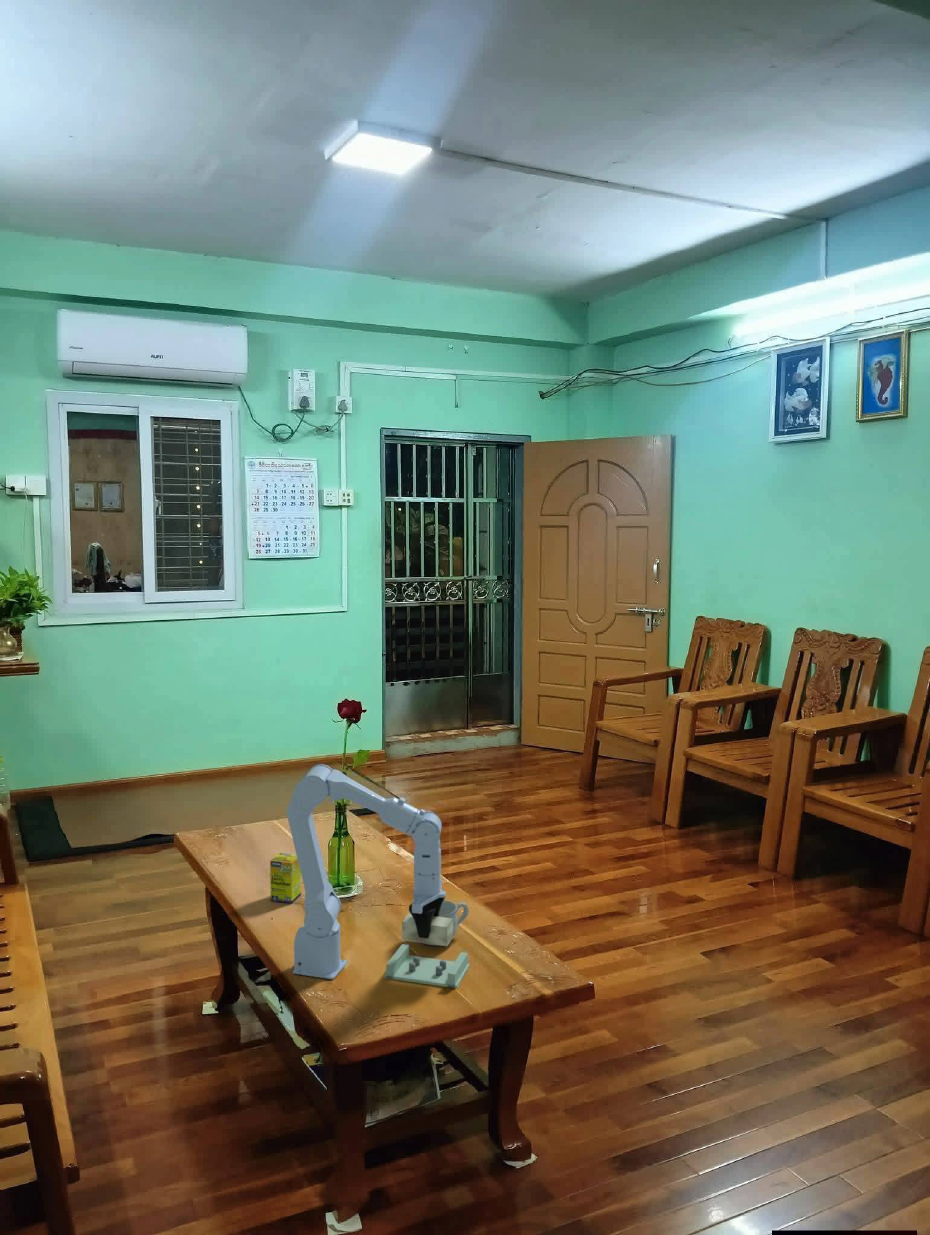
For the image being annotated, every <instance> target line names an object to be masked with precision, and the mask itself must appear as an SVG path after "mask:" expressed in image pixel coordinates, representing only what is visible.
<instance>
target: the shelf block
mask: <svg viewBox="0 0 930 1235" xmlns="http://www.w3.org/2000/svg"><path fill="white" fill-rule="evenodd" d="M401 932H402V933H401V936H402V937H401V938H402V941H406V942H411V943H412V942H413V943H420V944H424V943H426V944H434V945H433V946H443V947H448V946H449V944H450V943H451V941H452V939H453V938H454V937H453V918H445V917H437V916H433V918H432V922H431V930H430V935H429V938H428V939H427V938H419V936H418V932H417V928H416V924H415V921H414V919H413V917H412V915H411V913H410V912H409V913H408V914H406V916H405V917H404V919H402V921H401ZM426 944H425V945H426Z"/></svg>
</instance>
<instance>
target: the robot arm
mask: <svg viewBox="0 0 930 1235" xmlns="http://www.w3.org/2000/svg"><path fill="white" fill-rule="evenodd" d="M301 778H302V779H301V780H300V781H299V782H298V783H297V784H296V786H295V787H294V788H293V791H292V792H293V793H292V796H291V797H290V800H289V803H288V806H287V809H286V818H287V820H288V822H287V823H288V825H289V830H290V833H291V838H292V843H293V845H294V850H295V855H297V859H298V863H299V867H300V871H301V881H302V884H303V886H304V887H303V888H304V911H305V915H304V919H303V925H302V926H300V927H298V929H297V931H296V932H295V935H294V942H293V957H294V958H293V959H294V961H293V962H294V963H293V964H294V969H293V970H292V974H295V975H300V974H301V975H302V976H308V977H315V978H322V979H328V980H334V979H335V978H336V977H337V975H339V974H340V972H341V971H342V970H343V969H344V968H345V967H346V965H347V964H348V960H346V959H341V925H340V923H339V921H338V915H339V914H340V912H341V910H342V902H341V900H340V898H339V896H338V895H337V894H336V892H335V890H334V888H333V885H332V884H331V883H330V882H329V879H328V875H327V872H326V868H325V862H324V859H323V855H322V851H321V850H322V849H321V846H320V843H319V838H318V833H317V830H316V826H315V825H316V824H315V822H314V821H315V820H314V817H313V811H314V810H315V809H316V807H317V806H319V805H320V804H321V803H323V802H324V801H325V800H326V799H327V797H329V798H328V802H334V801H335V802H336V801H339V800H342V799H345V800H348V801H350V802H352V803H354V804H357V805H358V806H361V807H363V808H366V809H368V810H370V811H372V812H374V813H377V814H378V815H379V818H380V820H381V823H384V824H386V825H387V826H390V827H392V828H393V829H395V830H397V831H399V832H401V833H403V834H406V835H407V836H410V837H411V838H412V840H413V842H414V849H413V891H412V895H413V896H412V897H413V898H412V899H413V900H412V903H411V904H409V906H408V912H409V913H411V915H412V917H413V919H414V921H415V924H416V928H417V932H418V936H419V938H427V939H428V938H429V935H430V930H431V922H432V918H433V916H437V917H439V912H440V908H441V905H442V903H443V901H444V900H446V896H447V891H445V890H443V889H442V888H443V878H442V876H441V875H442V849H441V839H440V838H441V833H442V832H441V831H442V824H443V823H442V820H441V818H440V817H439V816H438V815H437V814H436V813H434V811H432V810H425V809H423V808H421V809H418V808H416V807H414V806H413V805H411V804H409V803H407V802H406V798H403V797H402V796H400V797H399V798H397V797H395V796H394V797H391V798H385V797H384V796H382V795H380V794H378V793H376V792H375V791H373V790H371V789H369V788H368V787H366V786H364V785H362V784H360V783H359V782H357V781H355V780H353V779H352V778H350V777H348V775H346V774H344V773H343V772H342V771H340V770H338V769H335V768H331V767H330V766H329V765H326V764H323V763H322V764H321V763H320V764H316V765H313V766H312V767H311V768H309V769H308V771H307V772H306V774H305V775H304V776H303V777H301ZM301 975H300V976H301Z"/></svg>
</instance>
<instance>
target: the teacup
mask: <svg viewBox="0 0 930 1235" xmlns="http://www.w3.org/2000/svg"><path fill="white" fill-rule="evenodd" d="M460 908H463V913H462V914H461V915H460V916H459V917H458V911H459V909H460ZM469 910H470V909H469V907H468V905H467V903H465V902H462V901H460V902H457V903H454V902H453V901H450V900H447V899H444V901H443V903H442V905H441V908H440V912H439V917H445V918H453V938H454V937H455V936H456V934H457V931H458V927H459V925H460V924H461V923H462V922H464V921H465V919H466V918H467V916H469ZM423 944H424V945H426V946H435V945H434V944H426V943H423Z"/></svg>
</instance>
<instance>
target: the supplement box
mask: <svg viewBox="0 0 930 1235" xmlns="http://www.w3.org/2000/svg"><path fill="white" fill-rule="evenodd" d="M269 864H270V865H269V870H270V871H269V872H270V876H269V877H270V901H271V902H272V901H276V903H284V904H290V903H291V904H290V905H293V903H294V902H295V901H296V900H297V899H298V898H300V897H301V895H302V876H301V871H300V867H299V863H298V859H297V855H296V854H292V853H284V852H279V853H278V854H276V855H275V856H273V858H271V859H270V860H269Z"/></svg>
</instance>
